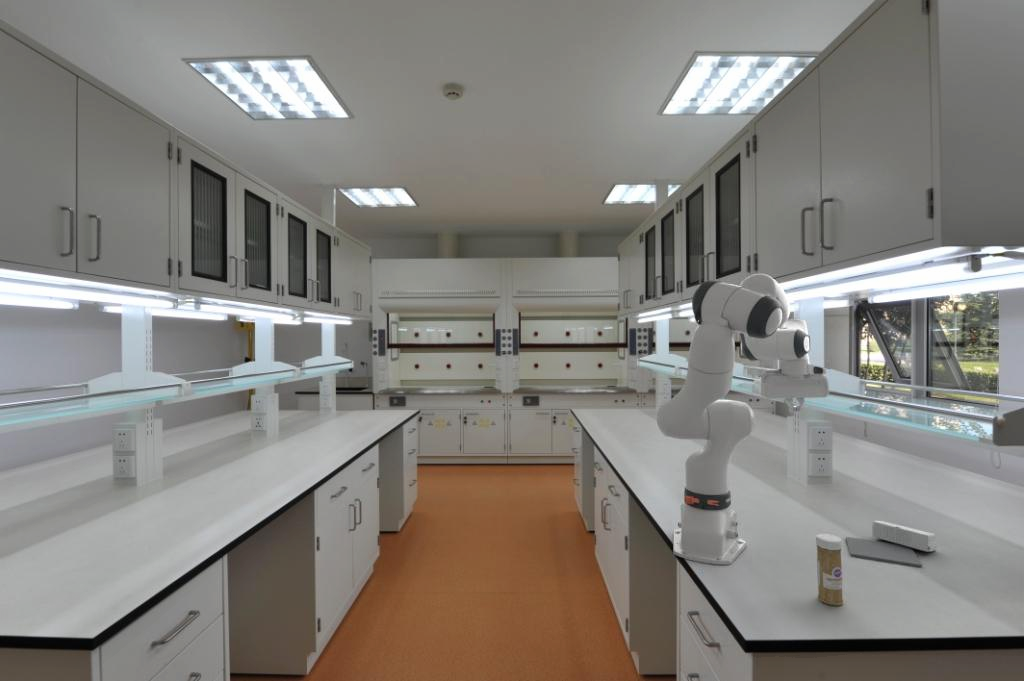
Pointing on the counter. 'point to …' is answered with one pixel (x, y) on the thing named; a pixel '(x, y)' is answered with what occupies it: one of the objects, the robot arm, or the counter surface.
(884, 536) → the skincare box
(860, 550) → the mat
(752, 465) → the counter surface
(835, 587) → the sprinkles bottle
